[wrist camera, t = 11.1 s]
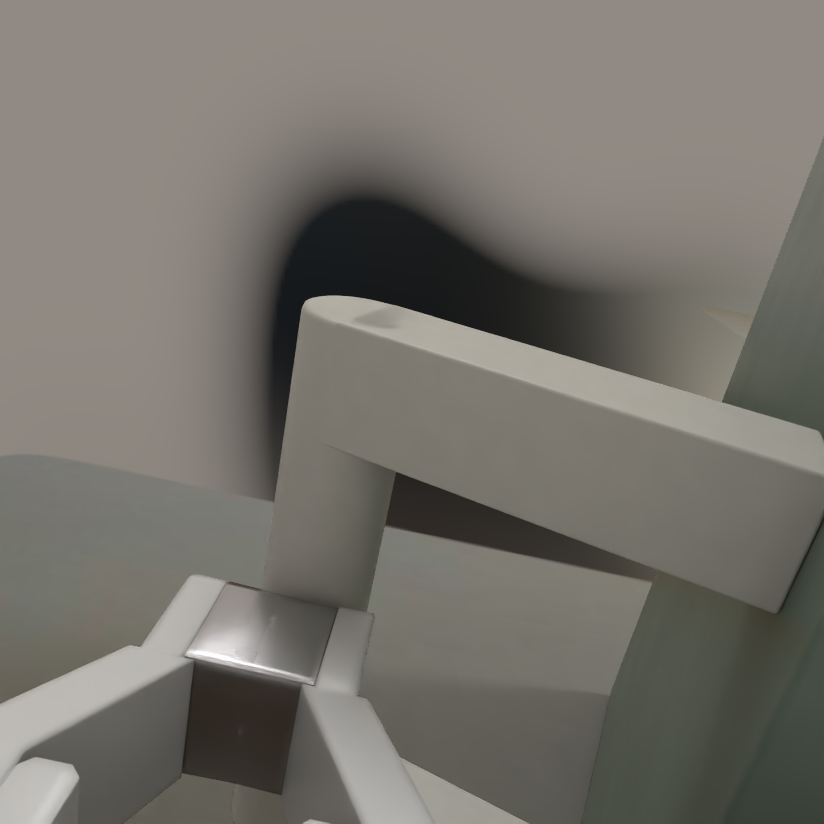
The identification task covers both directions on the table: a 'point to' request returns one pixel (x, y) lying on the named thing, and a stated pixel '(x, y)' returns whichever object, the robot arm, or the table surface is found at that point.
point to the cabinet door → (599, 526)
